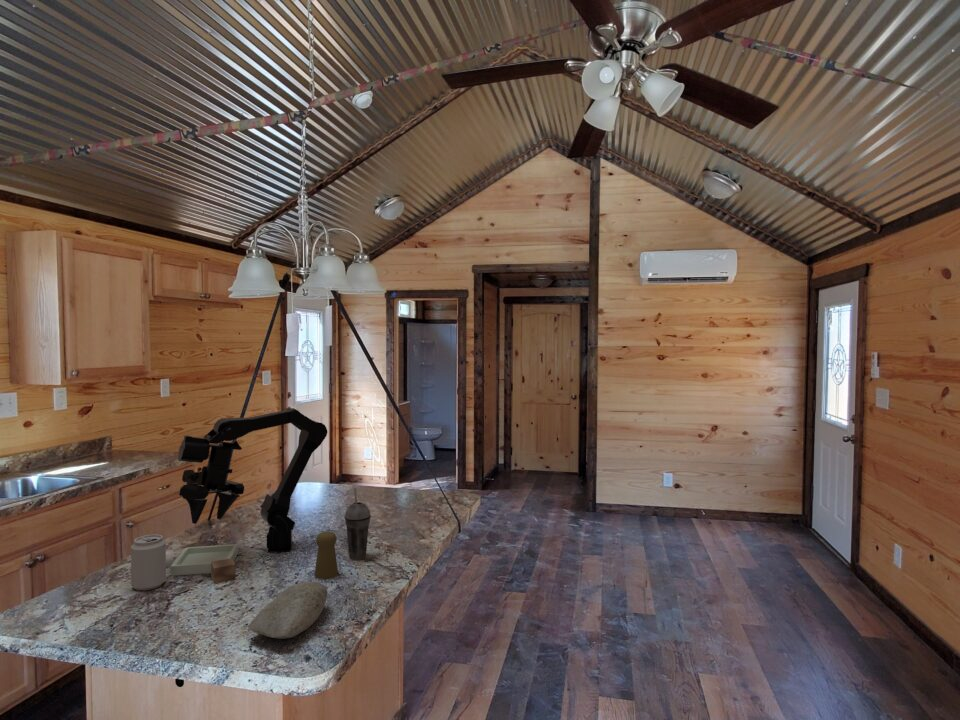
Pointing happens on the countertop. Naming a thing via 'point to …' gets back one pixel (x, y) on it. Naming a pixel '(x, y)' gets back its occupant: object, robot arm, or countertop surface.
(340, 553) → the countertop surface
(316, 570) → the cork
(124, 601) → the countertop surface
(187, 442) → the robot arm
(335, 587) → the countertop surface
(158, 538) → the can
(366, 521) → the beverage cup
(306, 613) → the rock
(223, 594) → the countertop surface
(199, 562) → the tray
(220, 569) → the walnut block
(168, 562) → the off-white egg
